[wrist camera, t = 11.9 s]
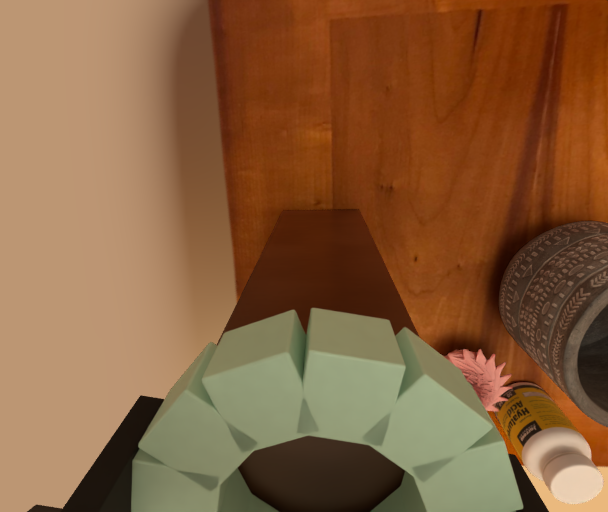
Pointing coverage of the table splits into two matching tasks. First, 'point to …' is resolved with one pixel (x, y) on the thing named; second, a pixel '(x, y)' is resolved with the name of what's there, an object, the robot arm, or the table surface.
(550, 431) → the supplement bottle
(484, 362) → the flower
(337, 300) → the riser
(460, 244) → the table surface
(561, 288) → the planter
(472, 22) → the table surface
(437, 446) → the ring
